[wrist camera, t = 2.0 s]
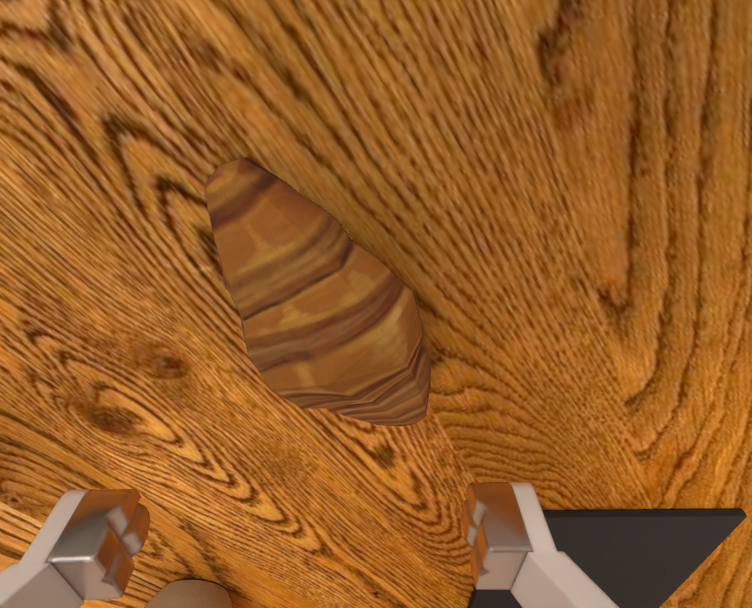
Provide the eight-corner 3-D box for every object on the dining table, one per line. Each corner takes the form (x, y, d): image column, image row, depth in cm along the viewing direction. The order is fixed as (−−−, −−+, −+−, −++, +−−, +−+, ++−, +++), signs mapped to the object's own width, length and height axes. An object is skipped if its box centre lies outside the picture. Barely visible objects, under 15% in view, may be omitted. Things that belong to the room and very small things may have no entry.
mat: (742, 508, 28) (747, 516, 27) (644, 613, 37) (647, 620, 37) (500, 510, 27) (502, 518, 27) (464, 616, 37) (465, 623, 36)
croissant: (155, 204, 15) (75, 275, 11) (309, 100, 13) (284, 139, 9) (352, 418, 22) (349, 512, 18) (473, 369, 20) (500, 461, 16)
